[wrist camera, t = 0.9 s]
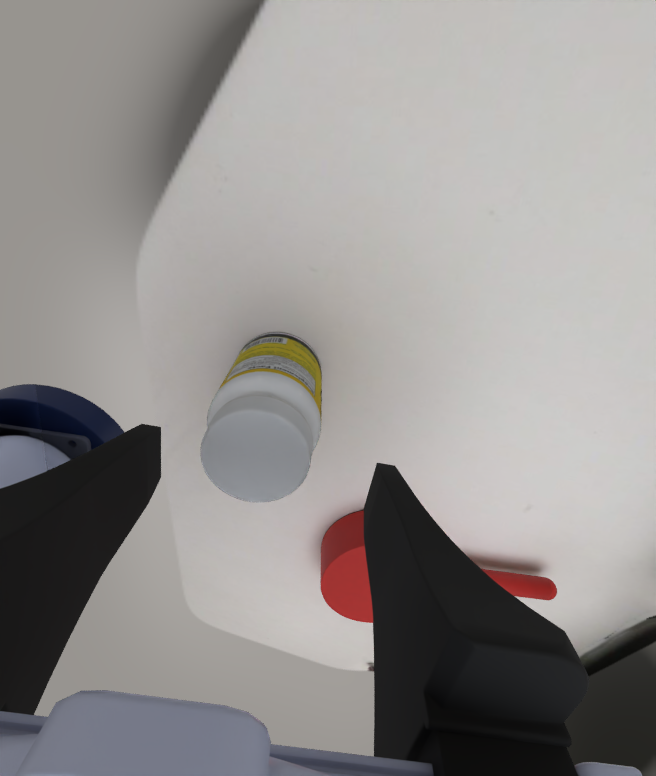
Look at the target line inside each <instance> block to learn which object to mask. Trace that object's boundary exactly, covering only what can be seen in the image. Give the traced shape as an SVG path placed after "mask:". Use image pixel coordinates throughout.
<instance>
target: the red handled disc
mask: <svg viewBox="0 0 656 776" xmlns="http://www.w3.org/2000/svg"><path fill="white" fill-rule="evenodd" d="M481 570H483V571H484V572H485V573H486V574H487V575H488V576H489V577H491V578H492V579H493V580H494V581H495V582H497V583H498V584H499V585H500V586H501V587H503V588H504V589H505V590H506V591H508V592H509V593H510V594H512V595H513V596H518V597H526V598H534V599H542V600H551V599H553V598H554V597H555V596H556V594H557V588H556V586H555V584H554V583H553V582H552V581H551V580H550V579H548V578H545V577H538V576H531V575H523V574H516V573H508V572H501V571H493V570H485V569H481ZM321 592H322V595H323V597H324V599H325V601H326V603H327V604H328V605H329V606H330V607H331V608H332V609H333V610H334V611H335V612H337V613H339V614H340V615H342V616H344V617H346V618H349V619H352V620H356V621H360V622H369V623H373V610H372V599H371V591H370V584H369V576H368V568H367V561H366V552H365V544H364V510H363V511H358V512H355V513H352V514H349V515H347V516H345V517H343V518H341V519H339V520H338V521H337V522H335V523H334V524H333V525H332V526H331V527H330V528H329V529H328V531H327V532H326V534H325V536H324V538H323V541H322V545H321Z"/></svg>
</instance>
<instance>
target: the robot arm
mask: <svg viewBox="0 0 656 776" xmlns="http://www.w3.org/2000/svg"><path fill="white" fill-rule="evenodd" d="M72 440H73V441H75V442H76V444H75V443H73V442H72ZM160 478H161V427H157V426H151V425H145V424H141V425H139V426H137V427H135V428H133V429H131V430H129V431H127V432H125V433H123V434H121V435H119V436H117V437H116V438H114V439H112V440H110V441H108V442H106V443H104V444H102V445H100V446H99V447H97V448H95V449H93V450H91V442H90V440H89V439H88V438H87V437H85V436H81V435H74V434H67V433H61V432H54V431H47V430H40V429H34V428H27V427H20V426H13V425H7V424H0V776H642V774H641V772H640V771H639V770H638V769H636V768H634V767H627V766H620V765H612V764H604V763H596V762H584V763H580V764H577V765H575V766H574V765H573V762H572V760H571V758H570V755H569V752H568V750H567V748H566V747H569V746H570V745H571V737H570V735H569V733H568V731H567V728H566V726H565V724H564V721H565V720H566V719H567V718H568V716H569V715H570V714H571V713H572V712H573V710H574V709H575V708H576V707H577V706H578V704H579V703H580V702H581V701H582V699H583V697H584V696H585V694H586V692H587V690H588V685H589V677H588V675H587V672H586V670H585V668H584V666H583V664H582V662H581V660H580V658H579V657H578V655H577V653H576V651H575V649H574V647H573V645H572V643H571V642H570V640H569V638H568V636H567V635H566V633H565V631H563V630H562V629H560V628H559V627H557V626H556V625H554V624H553V623H551V622H550V621H548V620H547V619H546V618H544V617H543V616H541V615H540V614H538V613H537V612H535V611H534V610H532V609H531V608H529V607H528V606H526V605H525V604H524V603H522V602H521V601H520V600H518V599H517V598H516V597H514V596H513V595H512V594H510V593H509V592H508V591H506V590H505V589H504V588H503V587H501V586H500V585H499V584H498V583H497V582H495V581H494V580H493V579H492V578H491V577H489V576H488V575H487V574H486V573H485V572H484V571H483V570H481V569H480V568H479V567H478V566H477V565H476V564H475V563H474V562H473V561H472V560H470V559H469V558H468V557H467V556H466V555H465V554H464V553H463V552H462V551H461V550H460V549H459V548H458V547H457V546H456V545H455V543H454V542H453V541H452V540H451V539H450V538H449V537H448V536H447V535H446V534H445V533H444V532H443V530H442V529H441V528H440V527H439V526H438V524H437V523H436V522H435V521H434V520H433V518H432V517H431V516H430V515H429V513H428V512H427V511H426V509H425V508H424V507H423V506H422V504H421V503H420V501H419V500H418V499H417V497H416V496H415V495H414V493H413V492H412V490H411V489H410V487H409V486H408V484H407V483H406V481H405V480H404V478H403V477H402V476H401V474H400V473H399V471H398V470H397V468H396V467H395V466H393V465H387V464H381V463H377V465H376V468H375V472H374V475H373V479H372V482H371V486H370V489H369V493H368V496H367V499H366V503H365V506H364V544H365V552H366V561H367V568H368V576H369V584H370V591H371V599H372V610H373V632H374V680H375V728H374V757H373V756H364V755H356V754H347V753H340V752H331V751H323V750H315V749H307V748H298V747H290V746H282V745H273V744H271V741H270V737H269V734H268V731H267V728H266V726H265V725H264V724H263V723H262V722H261V721H260V720H258V719H257V718H256V717H254V716H253V715H251V714H250V713H249V712H246V711H243V710H239V709H236V708H232V707H229V706H225V705H217V704H210V703H202V702H194V701H186V700H178V699H170V698H163V697H155V696H147V695H139V694H130V693H123V692H115V691H107V690H102V691H101V690H96V691H80V692H78V693H75V694H73V695H71V696H69V697H67V698H65V699H62V700H60V701H58V702H56V704H55V706H54V707H53V709H52V711H51V713H50V715H49V716H48V717H44V716H36V715H34V713H35V710H36V708H37V706H38V704H39V702H40V699H41V697H42V695H43V693H44V690H45V688H46V686H47V683H48V681H49V679H50V677H51V675H52V673H53V671H54V669H55V667H56V665H57V662H58V660H59V658H60V656H61V654H62V652H63V650H64V648H65V646H66V643H67V641H68V639H69V637H70V635H71V633H72V631H73V629H74V627H75V625H76V623H77V621H78V619H79V617H80V615H81V613H82V611H83V609H84V608H85V606H86V604H87V602H88V600H89V598H90V596H91V594H92V592H93V590H94V589H95V587H96V585H97V583H98V581H99V579H100V577H101V576H102V574H103V572H104V571H105V569H106V567H107V566H108V564H109V562H110V561H111V559H112V558H113V556H114V555H115V553H116V552H117V550H118V549H119V547H120V546H121V544H122V543H123V541H124V539H125V538H126V537H127V535H128V534H129V532H130V531H131V529H132V528H133V526H134V525H135V523H136V521H137V520H138V519H139V517H140V516H141V514H142V512H143V511H144V509H145V508H146V506H147V505H148V503H149V501H150V499H151V497H152V495H153V493H154V491H155V489H156V486H157V484H158V482H159V480H160Z"/></svg>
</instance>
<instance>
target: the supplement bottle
mask: <svg viewBox="0 0 656 776" xmlns="http://www.w3.org/2000/svg"><path fill="white" fill-rule="evenodd" d="M321 379H322V375H321V366H320V363H319V360H318V358H317V356H316V354H315V352H314V351H313V350H312V348H311V347H310V346H309V345H308V344H307V343H305V342H304V341H303V340H301V339H299V338H297V337H295V336H293V335H290V334H286V333H279V332H273V333H267V334H263V335H260V336H258V337H256V338H254V339H252V340H251V341H250V342H248V343H247V344H246V345H245V346H244V347H243V349H242V350H241V352H240V353H239V355H238V357H237V359H236V360H235V362H234V364H233V366H232V367H231V369H230V371H229V373H228V374H227V376H226V378H225V379H224V381H223V383H222V385H221V386H220V388H219V390H218V392H217V393H216V395H215V397H214V399H213V401H212V403H211V405H210V408H209V411H208V416H207V430H206V433H205V435H204V437H203V440H202V443H201V461H202V465H203V468H204V470H205V472H206V474H207V476H208V477H209V479H210V480H211V481H212V482H213V483H214V484H215V485H216V486H217V487H218V488H219V489H221V490H222V491H223V492H225V493H227V494H228V495H230V496H232V497H235V498H237V499H240V500H244V501H249V502H269V501H274V500H278V499H280V498H283V497H285V496H287V495H289V494H290V493H292V492H293V491H294V490H296V489H297V488H298V487H299V486H300V485H301V483H302V482H303V481H304V479H305V478H306V476H307V473H308V471H309V467H310V462H311V455H312V452H313V450H314V448H315V446H316V445H317V442H318V440H319V436H320V431H321V401H322V399H321V393H322V391H321Z"/></svg>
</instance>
